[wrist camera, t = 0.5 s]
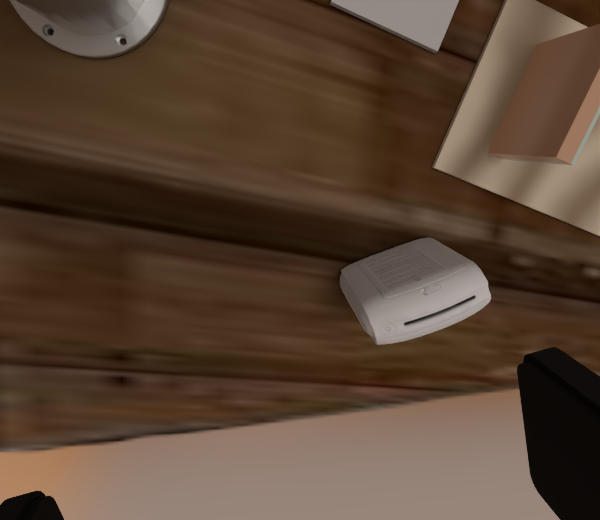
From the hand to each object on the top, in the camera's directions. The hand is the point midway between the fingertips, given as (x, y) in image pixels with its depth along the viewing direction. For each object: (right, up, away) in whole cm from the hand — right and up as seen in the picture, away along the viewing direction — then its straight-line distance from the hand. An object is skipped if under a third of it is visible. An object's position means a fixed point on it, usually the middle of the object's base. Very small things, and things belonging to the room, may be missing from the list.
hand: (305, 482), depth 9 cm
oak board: (+24, +17, +35) cm, 45 cm away
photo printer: (+8, +4, +37) cm, 38 cm away
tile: (+20, +17, +28) cm, 39 cm away
